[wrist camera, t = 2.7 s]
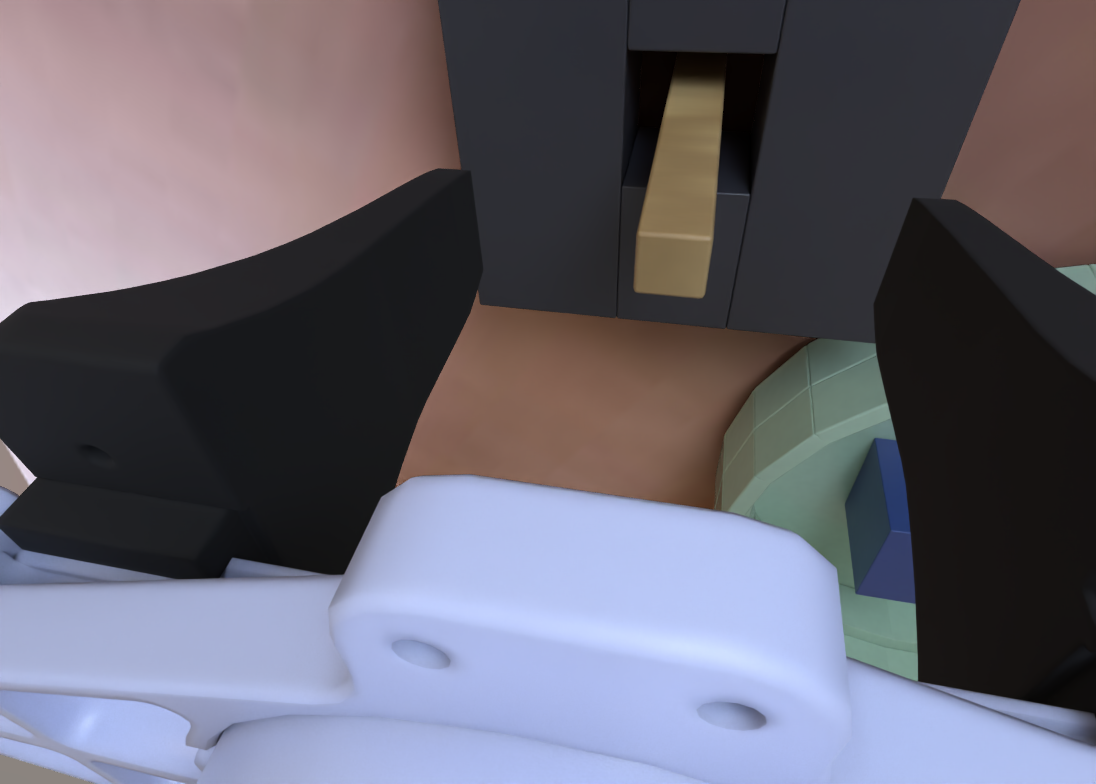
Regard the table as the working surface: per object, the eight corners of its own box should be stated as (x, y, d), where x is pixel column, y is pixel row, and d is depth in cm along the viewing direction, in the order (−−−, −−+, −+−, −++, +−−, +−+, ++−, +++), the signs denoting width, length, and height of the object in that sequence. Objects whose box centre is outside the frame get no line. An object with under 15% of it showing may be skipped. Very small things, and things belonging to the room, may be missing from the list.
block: (998, 452, 23) (1031, 551, 20) (953, 519, 26) (977, 614, 23) (874, 437, 24) (890, 530, 21) (844, 504, 26) (854, 594, 24)
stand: (1042, -237, 12) (1114, -228, 10) (866, 270, 20) (882, 345, 17) (467, -211, 14) (408, -198, 12) (509, 241, 22) (479, 305, 19)
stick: (727, 45, 16) (713, 238, 10) (721, 95, 17) (704, 301, 11) (678, 44, 17) (635, 232, 10) (674, 93, 18) (632, 294, 11)
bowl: (1582, 289, 16) (1780, 422, 13) (1132, 644, 30) (1177, 752, 26) (765, 229, 20) (768, 324, 17) (693, 572, 33) (687, 659, 30)
